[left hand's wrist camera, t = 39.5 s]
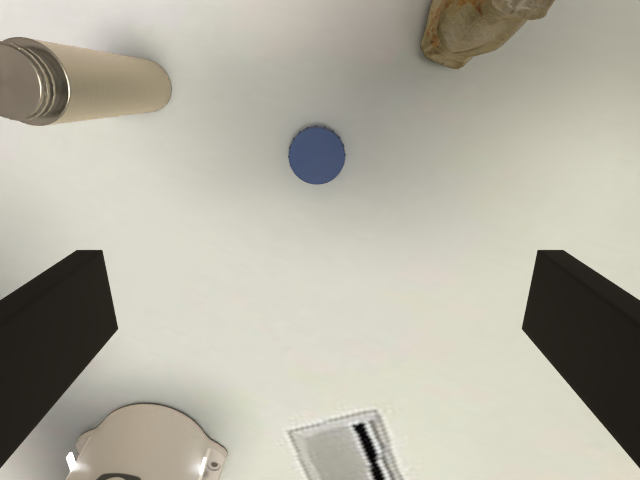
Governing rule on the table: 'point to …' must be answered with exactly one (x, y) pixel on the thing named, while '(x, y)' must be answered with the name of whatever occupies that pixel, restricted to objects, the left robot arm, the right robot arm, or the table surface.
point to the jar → (75, 83)
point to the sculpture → (474, 27)
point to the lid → (316, 155)
